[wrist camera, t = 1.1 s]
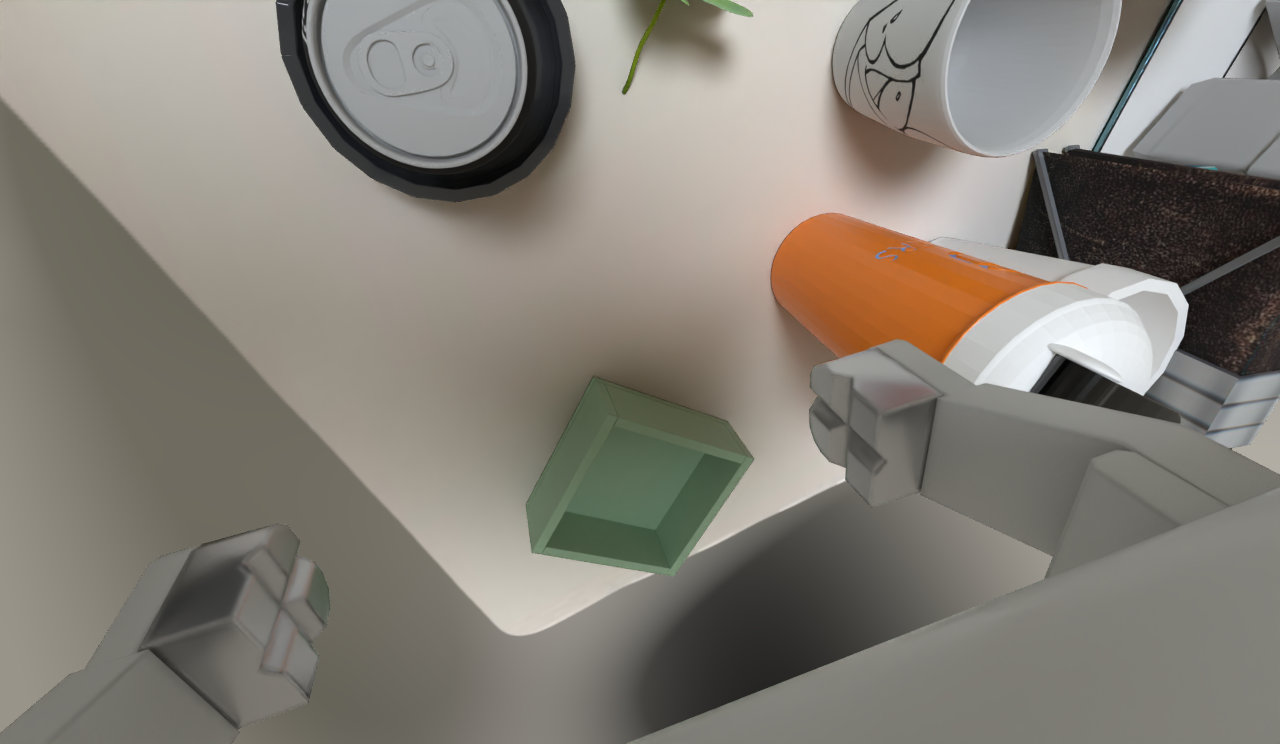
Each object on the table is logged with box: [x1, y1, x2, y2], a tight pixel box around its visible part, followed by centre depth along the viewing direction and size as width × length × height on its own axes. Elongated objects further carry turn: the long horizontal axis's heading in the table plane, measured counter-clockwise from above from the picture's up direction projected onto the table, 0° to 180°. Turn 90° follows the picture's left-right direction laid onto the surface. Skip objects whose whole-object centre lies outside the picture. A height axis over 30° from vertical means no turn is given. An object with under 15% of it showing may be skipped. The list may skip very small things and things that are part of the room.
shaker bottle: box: [771, 213, 1181, 424], centre depth 28 cm, size 9×9×20 cm
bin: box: [526, 377, 754, 576], centre depth 38 cm, size 11×11×5 cm
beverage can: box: [302, 0, 537, 175], centre depth 20 cm, size 7×7×12 cm
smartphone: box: [1093, 0, 1267, 158], centre depth 37 cm, size 8×1×16 cm
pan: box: [276, 0, 576, 202], centre depth 24 cm, size 11×11×4 cm
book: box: [1016, 145, 1280, 449], centre depth 35 cm, size 22×17×5 cm
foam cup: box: [929, 237, 1189, 393], centre depth 34 cm, size 10×9×13 cm
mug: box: [833, 0, 1122, 158], centre depth 26 cm, size 11×8×10 cm
